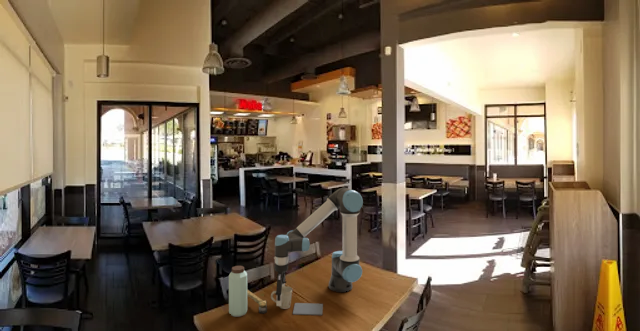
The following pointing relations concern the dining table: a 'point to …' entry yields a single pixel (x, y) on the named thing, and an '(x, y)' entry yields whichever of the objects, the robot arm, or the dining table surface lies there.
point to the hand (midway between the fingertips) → (280, 300)
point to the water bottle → (238, 291)
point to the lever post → (263, 310)
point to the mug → (284, 297)
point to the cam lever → (257, 299)
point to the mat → (308, 309)
